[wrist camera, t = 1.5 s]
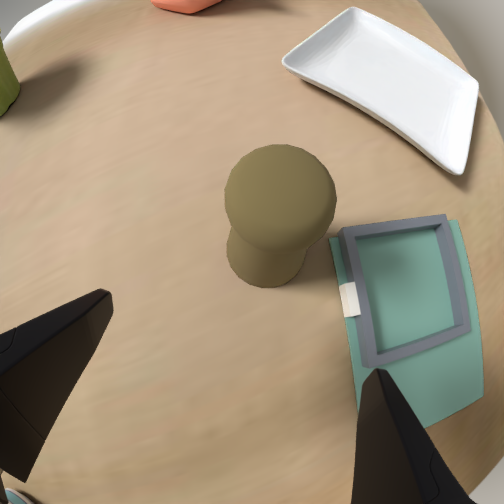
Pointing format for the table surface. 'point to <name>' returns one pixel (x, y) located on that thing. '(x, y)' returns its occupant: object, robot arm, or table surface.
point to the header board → (412, 311)
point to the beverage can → (16, 497)
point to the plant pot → (7, 82)
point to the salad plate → (393, 82)
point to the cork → (276, 212)
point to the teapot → (184, 5)
